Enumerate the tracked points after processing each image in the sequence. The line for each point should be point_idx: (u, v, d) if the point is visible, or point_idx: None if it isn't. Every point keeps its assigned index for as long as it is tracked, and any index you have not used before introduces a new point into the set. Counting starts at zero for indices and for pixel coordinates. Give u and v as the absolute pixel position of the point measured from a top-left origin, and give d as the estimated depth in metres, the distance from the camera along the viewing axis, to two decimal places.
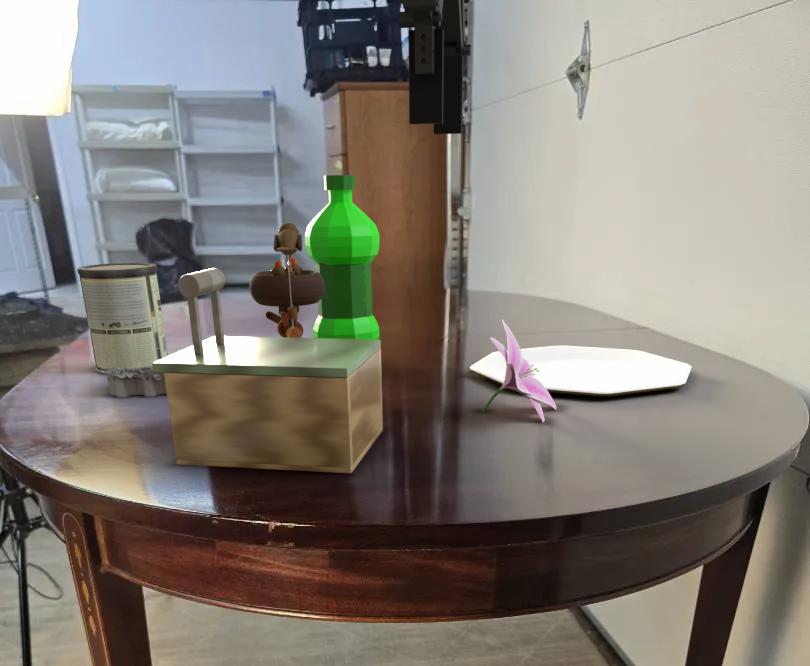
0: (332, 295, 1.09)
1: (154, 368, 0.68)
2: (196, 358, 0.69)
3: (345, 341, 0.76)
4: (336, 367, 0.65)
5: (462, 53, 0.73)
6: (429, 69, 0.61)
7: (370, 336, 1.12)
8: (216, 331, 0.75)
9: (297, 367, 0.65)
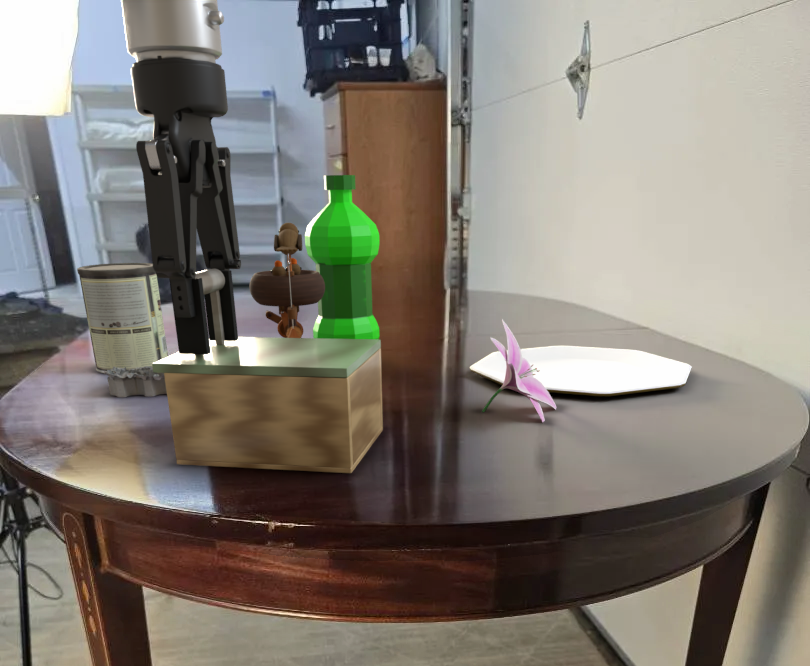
0: (332, 295, 1.09)
1: (154, 369, 0.68)
2: (196, 358, 0.69)
3: (345, 341, 0.76)
4: (336, 367, 0.65)
5: (229, 265, 0.73)
6: (187, 314, 0.67)
7: (370, 336, 1.12)
8: (216, 331, 0.75)
9: (297, 367, 0.65)
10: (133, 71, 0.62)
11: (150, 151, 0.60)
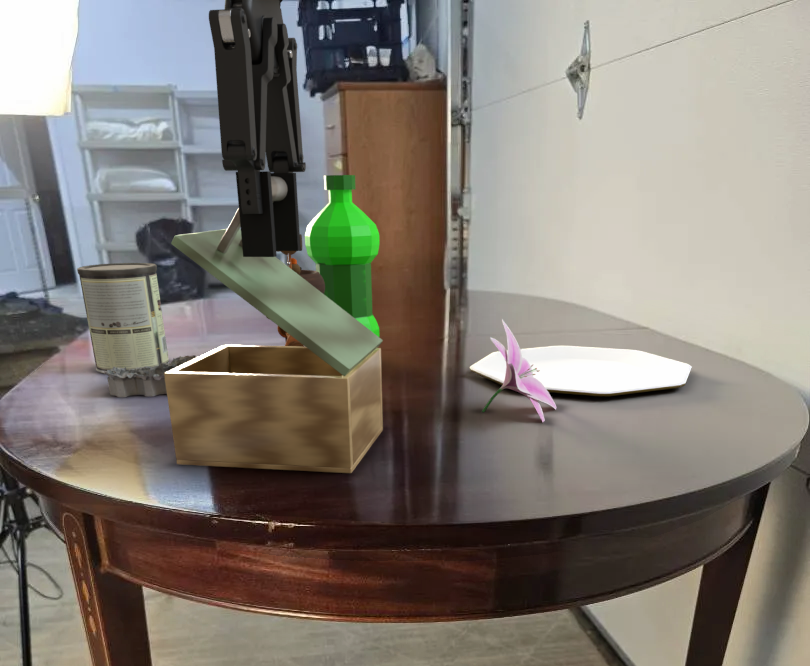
0: (332, 295, 1.09)
1: (174, 241, 0.63)
2: (218, 257, 0.65)
3: (353, 322, 0.75)
4: (341, 361, 0.65)
5: (294, 167, 0.69)
6: (255, 210, 0.63)
7: None
8: None
9: (307, 337, 0.64)
10: None
11: (224, 20, 0.56)
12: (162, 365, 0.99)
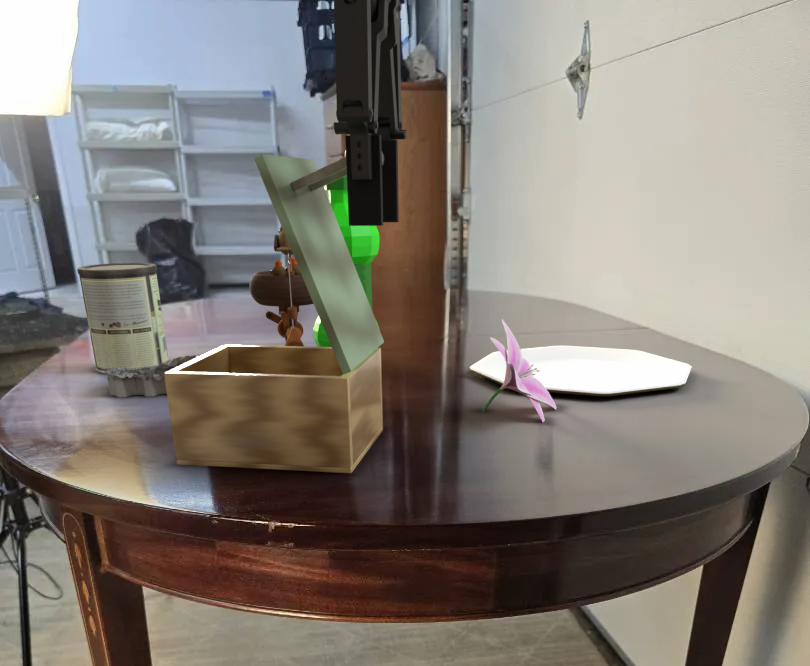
0: None
1: (257, 159, 0.59)
2: (288, 195, 0.62)
3: (368, 312, 0.74)
4: (347, 359, 0.64)
5: (396, 134, 0.66)
6: (366, 175, 0.60)
7: None
8: (321, 179, 0.67)
9: (330, 321, 0.63)
10: None
11: None
12: (162, 365, 0.99)
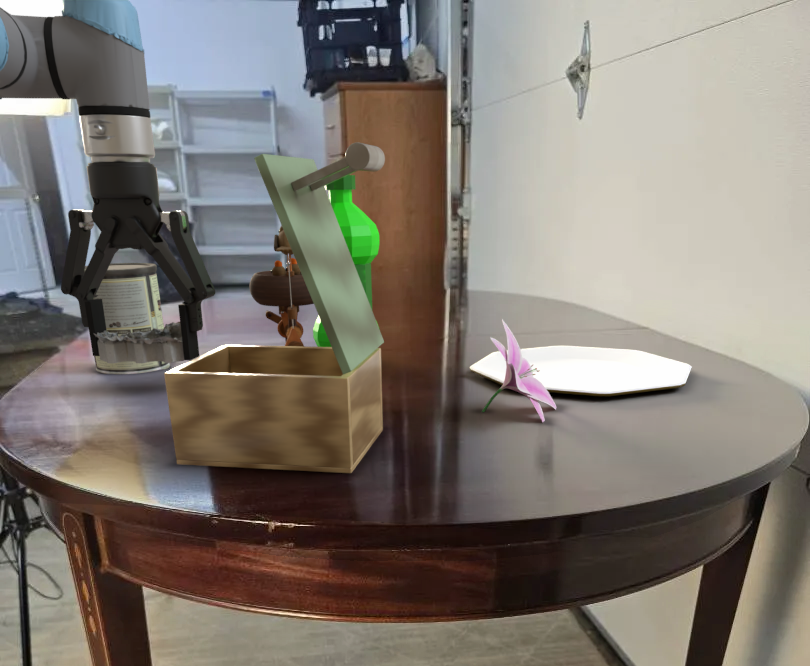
0: None
1: (258, 158, 0.59)
2: (289, 195, 0.62)
3: (368, 312, 0.74)
4: (347, 359, 0.64)
5: (185, 302, 0.91)
6: None
7: None
8: (322, 179, 0.67)
9: (330, 321, 0.63)
10: None
11: None
12: (154, 330, 0.97)
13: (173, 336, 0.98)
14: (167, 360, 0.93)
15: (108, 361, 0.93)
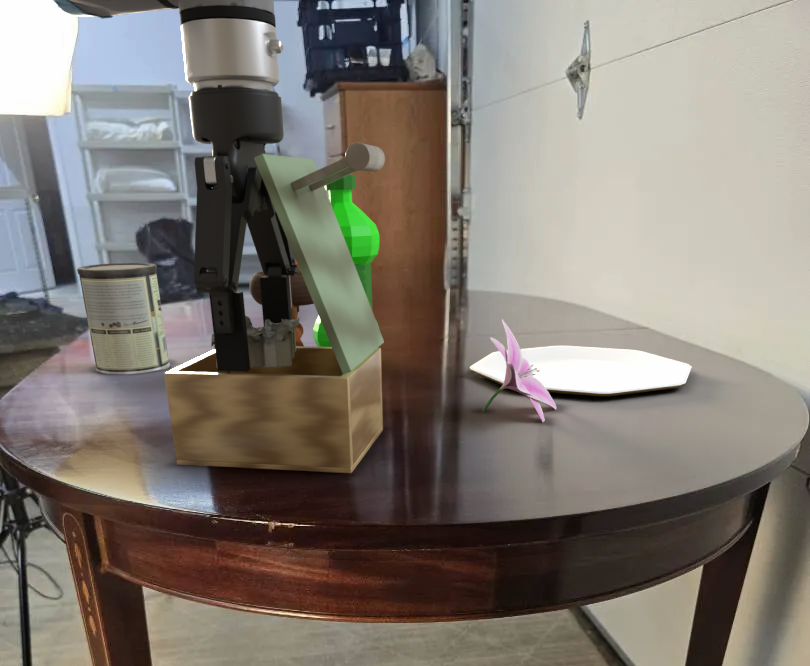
0: None
1: (258, 158, 0.59)
2: (289, 195, 0.62)
3: (368, 312, 0.74)
4: (347, 359, 0.64)
5: (287, 273, 0.75)
6: (228, 330, 0.64)
7: None
8: (322, 179, 0.67)
9: (330, 321, 0.63)
10: (192, 99, 0.62)
11: (208, 164, 0.60)
12: None
13: None
14: (295, 347, 0.76)
15: (291, 363, 0.69)
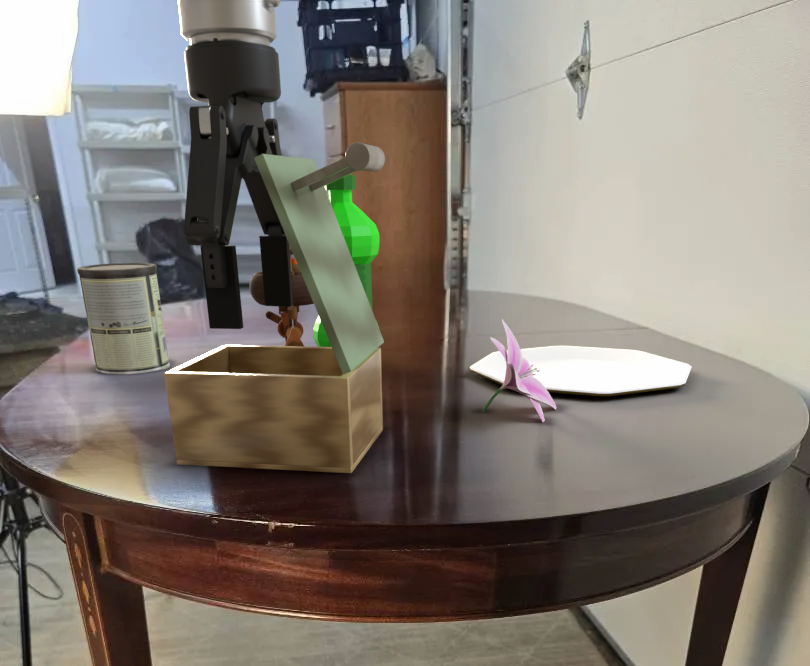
0: None
1: (258, 158, 0.59)
2: (289, 195, 0.62)
3: (368, 312, 0.74)
4: (347, 359, 0.64)
5: None
6: (220, 284, 0.62)
7: None
8: (322, 179, 0.67)
9: (330, 321, 0.63)
10: (187, 54, 0.61)
11: (203, 113, 0.58)
12: None
13: None
14: None
15: None
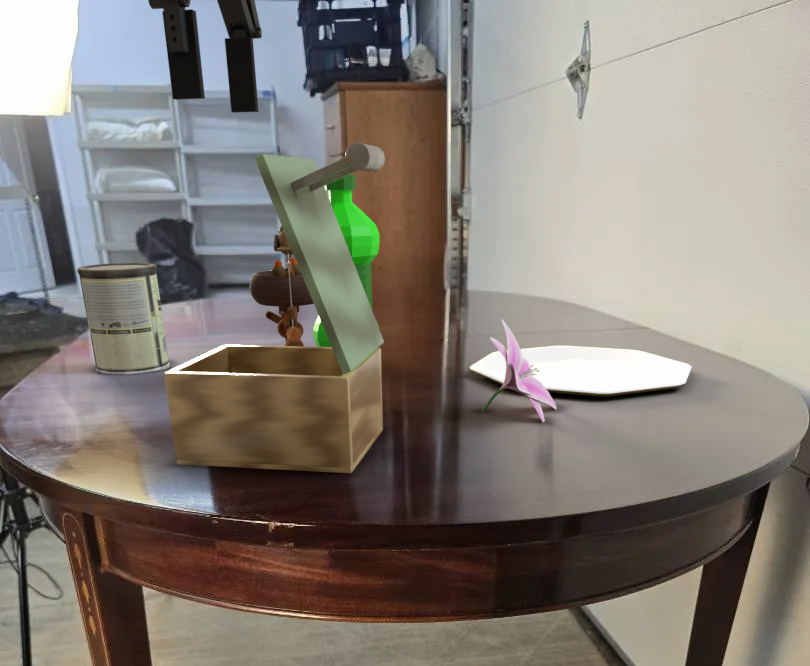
0: None
1: (258, 158, 0.59)
2: (289, 195, 0.62)
3: (368, 312, 0.74)
4: (347, 359, 0.64)
5: (252, 36, 0.78)
6: (181, 47, 0.65)
7: None
8: (322, 179, 0.67)
9: (330, 321, 0.63)
10: None
11: None
12: None
13: None
14: None
15: None
